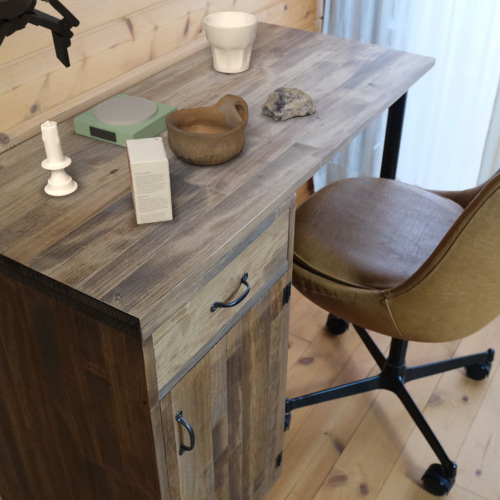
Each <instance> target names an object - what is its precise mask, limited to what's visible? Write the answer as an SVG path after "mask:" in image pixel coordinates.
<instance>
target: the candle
mask: <svg viewBox="0 0 500 500" xmlns="http://www.w3.org/2000/svg"><path fill="white" fill-rule="evenodd" d="M58 127H59V126H58V122H56V121H50V120H48V119H47V120H46V121H44V122H43V123H41V125H40V130H41V131H40V132H41V139H42V142H43V145H44V150H45V156H46V158H44V160H42V161H41V167H42V168H43V169H45V170H47V171H51V175H50V177H49V178H48V180H47V184H46V185H45V186H44V192H45V193H46V195H49V196H51V197H64V196H67V195H71V194H73V193H74V192H75V191H76V190H78V187H79V185H78V182H76V181H75V180H73V178H72V176H71V175H69V174H68V173H67V172H66V171H65V169H66V168H68V167H69V166H70V165H71V164H72V159H71V158H70V157H68V156H66V155H64V151H63V145H62V138H61V135H60V131H59V128H58Z"/></svg>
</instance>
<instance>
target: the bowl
mask: <svg viewBox="0 0 500 500" xmlns="http://www.w3.org/2000/svg"><path fill="white" fill-rule="evenodd" d="M248 122H249V106H248V103H247V102H246V100H245V99H244V98H243V97H241V96H239V95H236V94H230V93H229V94H225V95H223V96H222V97H220V98H219V100H218V101H217V102H216V103H215V104H213V105H210V106H206V107H205V106H199V107H188V108H181V109H177V111H175V112H172V113H170V114H168V115H167V116H166V118H165V123H166V127H167V129H166V130H167V131H166V132H167V144H168V147H169V150H170V151H171V152H173V154H175V155H176V156H177V158H180V159H181V160H183V161H185V162H188V163H191V164H193V165H198V166H212V165H213V166H214V165H219V164H222V163H225V162H227V161H230V160H232V159H233V158H235V157H236V156H237V155H239V153H240V152H241V151H242V150H243V149H244V145H245V141H246V139H245V137H246V135H245V132H244V131H245V129H246V127H247V124H248Z"/></svg>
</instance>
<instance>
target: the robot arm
mask: <svg viewBox="0 0 500 500" xmlns="http://www.w3.org/2000/svg"><path fill="white" fill-rule="evenodd" d="M37 1H38V0H0V47H1V46H2V44H3V43H4V41H5V38H8V37H11V36H12V35H13V34H15V33H16V32H18V31H21V30H24V29H25V28H27V25H28V24H30V25H33V26H36V27H41V28H44V29H47V30H50V32H51V36H52V41H53V47H54V52H55V57H56V59H58V61H59V62H60V63H61V64H62V65H63V66H64V67H65V68H66V69H68V68H70V67H71V60H70V55H69V49H68V48H70V47H71V46H72V41H71V39H72V38H73V37H74V31H72V30H71V29H72V28H78V27H79V26H80V24H81V21H80V20H79V19H78V18H77V16H76V15H74V13H73V12H71V11H70V10H69V9H68V8H67V7H66V6H65V5H64V4H63V3H62V2H61V1H60V0H40V1H41V2H44V3H46V4H49V5H50V6H51V7H52V8H53V9H54V10H55V11H56V12H57V13H58V14H59V15H61V16H62V18H58V17H56V16H54V15H51V14H49V13H47V12H44V11H42V10H40V9H36V6H37Z"/></svg>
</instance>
